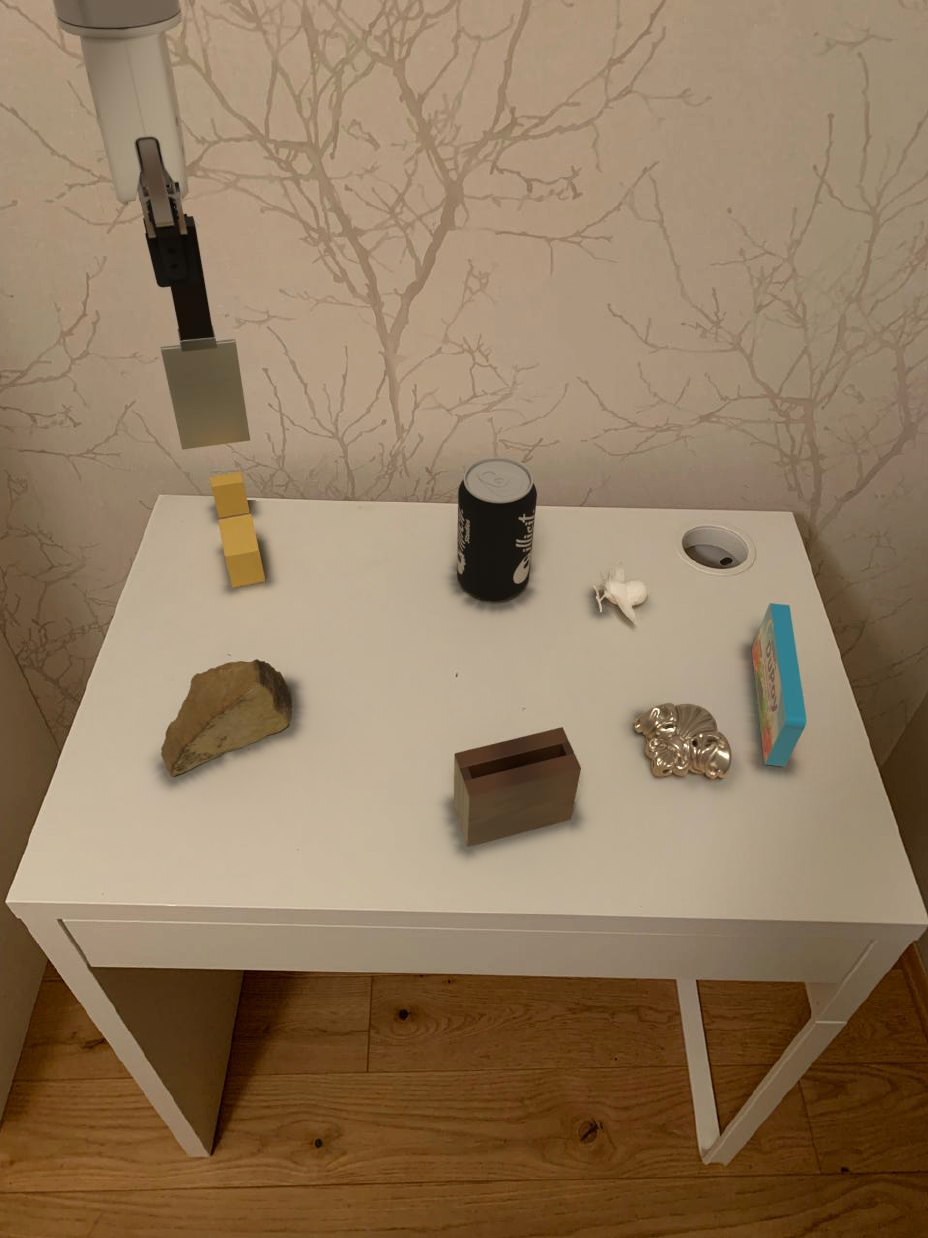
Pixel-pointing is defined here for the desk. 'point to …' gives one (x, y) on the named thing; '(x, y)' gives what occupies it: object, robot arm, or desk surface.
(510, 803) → the knife block
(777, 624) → the blue product box
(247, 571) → the butter block
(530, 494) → the beverage can
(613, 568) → the toy bird
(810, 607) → the desk surface
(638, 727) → the ornament
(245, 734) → the rock
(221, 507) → the butter slice
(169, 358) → the knife
